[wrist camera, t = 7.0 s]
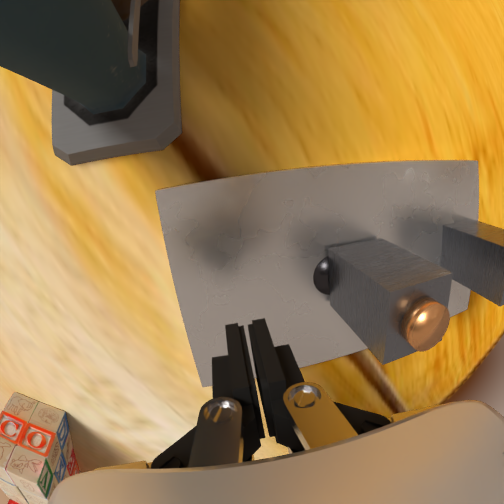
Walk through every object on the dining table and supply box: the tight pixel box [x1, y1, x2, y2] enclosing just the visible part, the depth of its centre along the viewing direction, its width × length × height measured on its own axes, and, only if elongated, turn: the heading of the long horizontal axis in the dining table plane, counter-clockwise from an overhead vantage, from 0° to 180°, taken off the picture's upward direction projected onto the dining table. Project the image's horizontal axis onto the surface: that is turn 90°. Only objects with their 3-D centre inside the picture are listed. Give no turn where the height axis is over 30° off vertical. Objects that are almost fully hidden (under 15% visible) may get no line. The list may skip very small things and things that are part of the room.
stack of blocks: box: [0, 392, 81, 504], centre depth 17 cm, size 21×6×12 cm, turn 164°
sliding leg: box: [328, 238, 453, 365], centre depth 15 cm, size 4×4×8 cm
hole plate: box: [155, 160, 479, 387], centre depth 20 cm, size 25×14×1 cm, turn 98°
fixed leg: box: [440, 219, 504, 306], centre depth 17 cm, size 4×4×8 cm
